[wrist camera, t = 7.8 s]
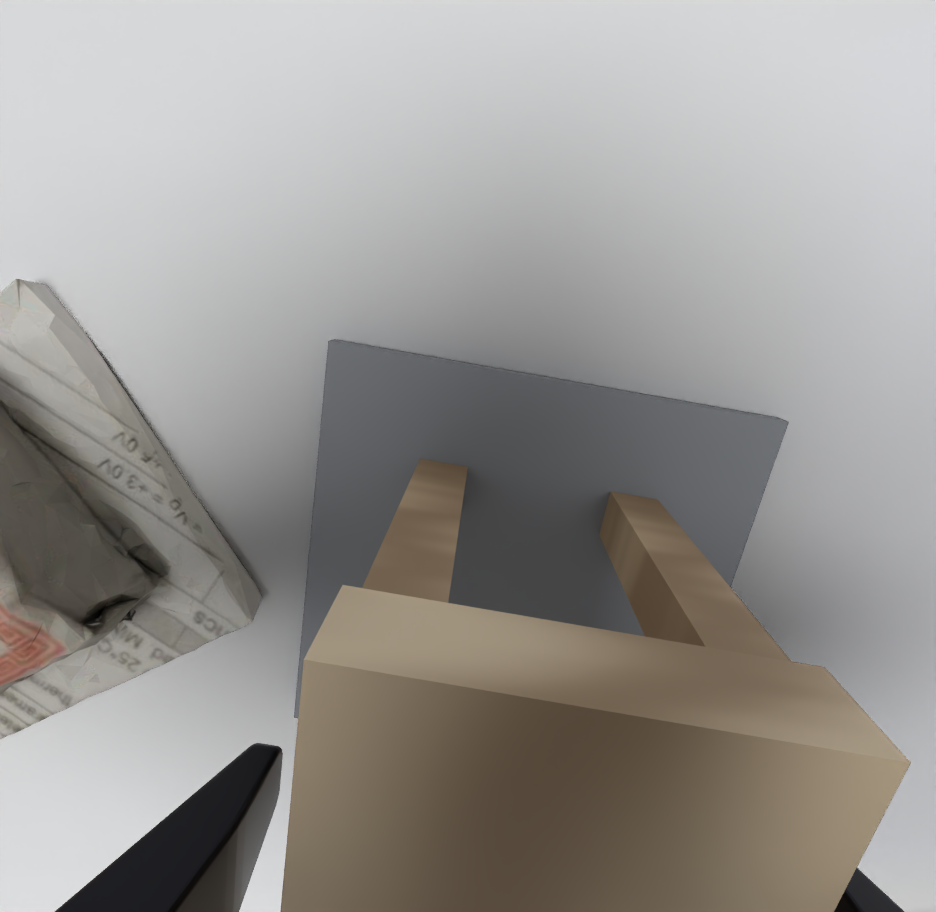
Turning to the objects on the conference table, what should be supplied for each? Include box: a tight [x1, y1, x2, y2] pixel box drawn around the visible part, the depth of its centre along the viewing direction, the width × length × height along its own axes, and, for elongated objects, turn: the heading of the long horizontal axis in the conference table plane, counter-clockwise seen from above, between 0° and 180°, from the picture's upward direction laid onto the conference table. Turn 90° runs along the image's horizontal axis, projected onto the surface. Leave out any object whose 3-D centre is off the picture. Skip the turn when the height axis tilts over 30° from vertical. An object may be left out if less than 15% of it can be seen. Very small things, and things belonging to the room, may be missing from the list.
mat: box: [294, 340, 788, 718], centre depth 14 cm, size 11×11×1 cm
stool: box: [281, 459, 911, 912], centre depth 10 cm, size 6×6×8 cm
